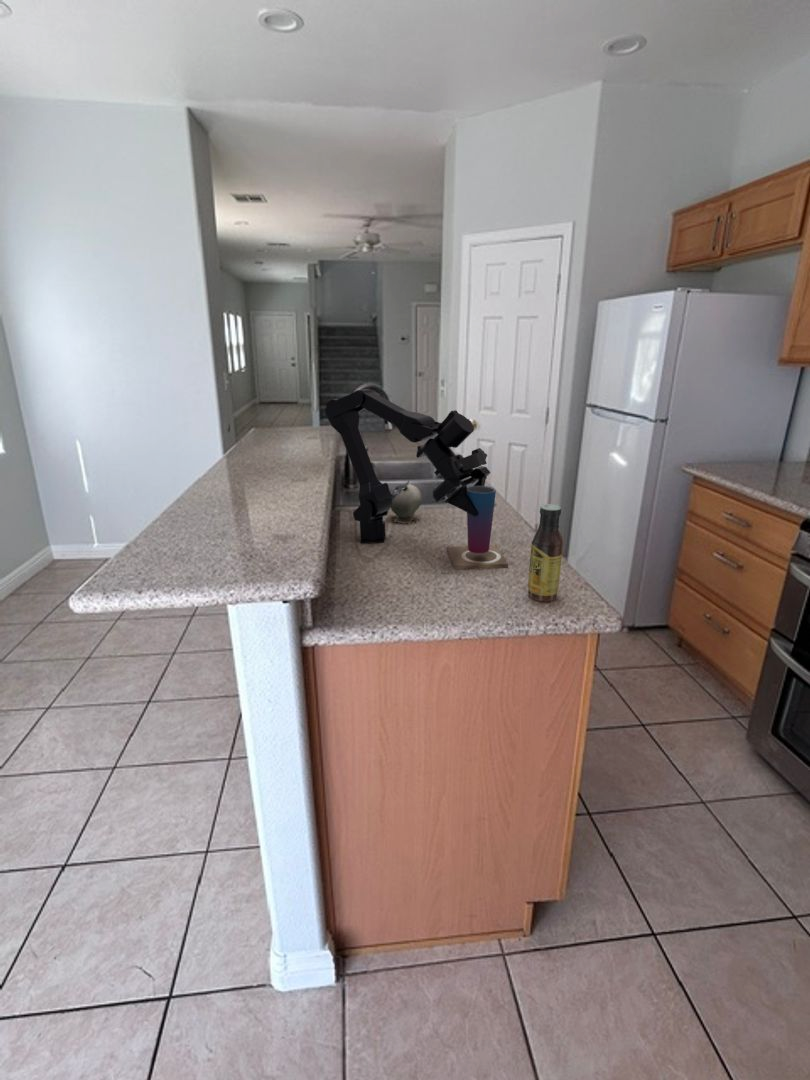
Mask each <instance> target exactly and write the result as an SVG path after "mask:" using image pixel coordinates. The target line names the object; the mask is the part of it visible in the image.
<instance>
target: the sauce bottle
mask: <svg viewBox="0 0 810 1080" xmlns="http://www.w3.org/2000/svg"><path fill="white" fill-rule="evenodd" d="M539 514H540V515H539V516H540V517H539V525H538V528H537V529H536V532H535V534H534V536H533V539H532V541H531V545H530V557H529V567H528V568H529V569H528V581H527V589H528V590H527V595H528V596H529V598H531V599H533V600H534V601H537V602H552V601H554V600H556V599H557V596H558V592H559V585H560V579H561V578H560V576H561V569H562V568H561V567H562V557H563V545H564V544H563V543H564V542H563V541H564V539H563V536H562V534H561V532H560V530H559V528H560V525H559V523H560V516H561V514H562V507H561V506H559V505H557V504H553V503H552V504H551V503H547V504H545V503H544V504H542V505H541V506H540V509H539Z"/></svg>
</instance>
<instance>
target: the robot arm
mask: <svg viewBox="0 0 810 1080" xmlns="http://www.w3.org/2000/svg"><path fill="white" fill-rule="evenodd" d="M363 410H367V411H368V412H370V413H372V414H373V415H375V416H377V417H379V418H381V419H382V420H384V421H386V422H388V423H390V424H391V425H393V426H394V427H396V428H397V429H398V431H399V433H400V434H401V435H402V436H403V437H404V438H405V439H406V440H408V441H409V442H411V443H419V442H422V441H423V442H424V441H426V442H425V443H423V444H421V445H417V448H416V449H417V452H416V458H418V459H419V458H421V457H422V458H423V457H426V458H427V459H428V460H429V461H430V463H431V465H432V466H433V467H434V468H435V471H433V472H434V475H436V476H440V477H441V478H442V479H443V481H442V482H440V484H439V485H438V486H436V488H434V490H433V491H432V498H433V499H434V501H435V502H436V503H437V504H439V503H441V502H443V501H444V503H445V504H450V505H452V506H454V507H456V508H459V509H460V510H462V511H464V512H466V514H467V513H469V514H471V515H473V516H477V515H478V514H479V513H478V511H477V509H476V508H475V506H474V504H473V503H472V501H471V499H470V498H469V496H468V495H467V488H468V487H471V486H486V480H487V478H488V476H489V475H491V471H490V470H489V469H488V467H487V466H484V465H487V464H488V463H487V457H488V454H487V453H486V452H485V450H483V449H482V448H481V447H478V448H476V449H473V450H472V451H471V454H470V455H467V456H465V457H463V455H461V454H460V453H459V454H457V455H456V453H455V452H454V451H453V449H457V448H458V447H460V445H461V444H462V443H464V442H465V440H467V439H468V438H469V436H471V434H472V433H474V431H475V427H474V425H473V423H472V421H471V420H470V418H469V419H468V418H467V417H466V416H464V415H463V414H461V413H459V412H458V411H457V410H456V409H455V410H451V411H450V412H449V413H448V414H447V416H446V417H445V418H444V419H443V421H442V422H439V421H436V420H435V419H434V418H433V417H431V416H429V415H428V414H423V413H420V412H415V411H409V410H407V409H404V408H403V407H401V406H399V405H397V404H395V403H393V402H392V401H390V400H388V399H386V398H384V397H382V396H380V395H379V394H377V393H375V392H374V391H373V390H371V389H369V388H365V389H364V388H363V389H357V390H355V391H353V392H352V393H350V394H347V395H344V396H343V397H340V398H333V399H329V401H328V402H326V405H325V408H324V414H325V416H326V418H327V420H328V423H330V426H331V427H332V428H333V429H334V430H335V431H336V432H338V433H339V435H340V436H341V439H342V442H343V445H344V447H345V450H346V452H347V453H346V454H347V455H348V458H349V460H350V463H351V466H352V468H353V471H354V474H355V476H356V479H357V482H358V485H359V491H358V501H359V505H358V507H357V508H356V509H355V510H354V511H353V513H352V515H353V518H354V521H356V522H359V543H360V544H369V543H371V544H372V543H384V542H385V539H386V521H384V518H383V517H387V516H388V514H389V513H388V512H389V510H390V509H391V504H392V498H391V497H393V496H392V494H391V493H392V492H391V491H390V488H389V484H388V483H387V482H384V483H382V482H381V481H379V479H378V478H377V475H376V472H375V470H374V467H373V464H372V461H371V459H370V457H369V453H368V451H367V448H366V445H365V443H364V440H363V437H362V434H361V432H360V430H359V424H360V413H359V412H361V411H363ZM435 435H436V436H435ZM434 436H435V437H434ZM433 437H434V438H433ZM452 448H453V449H452ZM446 497H447V498H446Z"/></svg>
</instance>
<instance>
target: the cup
mask: <svg viewBox="0 0 810 1080" xmlns="http://www.w3.org/2000/svg"><path fill="white" fill-rule="evenodd" d="M496 492H497V489H496V488H495V487H492V486H489V485H485V486H471V487H468V488H467V495H468V496H469V498H470V499H471V501H472V503H473V504H474V506H475V508H476V509H477V511H478V513H479V514H478V515H477V516H473V515H471V514H469V513H467V512H466V516H467V517H466V520H467V521H466V522H467V546H468V550H469V551H470V552H473V553H486V552H488V551H489V546H490V545H491V535H492V526H493V519H494V511H495V502H496Z"/></svg>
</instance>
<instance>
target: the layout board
mask: <svg viewBox="0 0 810 1080" xmlns="http://www.w3.org/2000/svg"><path fill="white" fill-rule="evenodd" d="M446 552H447V555H448V557H449V559H450V562H451V566H452V569H453V570H454V569H455V570H476V569H477V570H479V569H481V570H482V569H485V570H486V569H508V568H509V563H508V561H507V560H506V558H505V556H504V555H503V553H502V551H501V550H500V548H499V547H498V545H497V544H496V545H494V544H493V545H491V544H490V546H489V551H488V552H486V553H473V552H470V551H469V550H468V545H462V546H460V545H459V546H446Z"/></svg>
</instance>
